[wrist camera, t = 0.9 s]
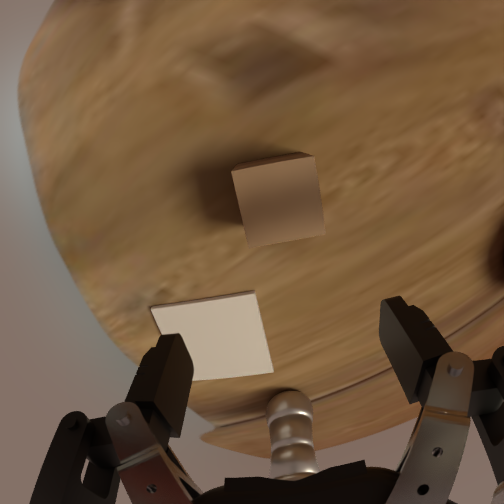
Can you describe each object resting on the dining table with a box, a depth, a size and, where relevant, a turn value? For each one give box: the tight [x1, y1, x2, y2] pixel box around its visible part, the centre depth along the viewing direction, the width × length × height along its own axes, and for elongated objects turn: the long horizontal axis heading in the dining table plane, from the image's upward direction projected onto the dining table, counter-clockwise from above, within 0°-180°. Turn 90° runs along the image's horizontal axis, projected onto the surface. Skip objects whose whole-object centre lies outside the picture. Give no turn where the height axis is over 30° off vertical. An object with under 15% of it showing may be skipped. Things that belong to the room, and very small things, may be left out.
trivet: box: [151, 291, 274, 381], centre depth 33 cm, size 12×12×1 cm
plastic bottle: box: [266, 391, 320, 481], centre depth 28 cm, size 6×7×20 cm
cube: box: [231, 152, 326, 248], centre depth 23 cm, size 6×6×6 cm
